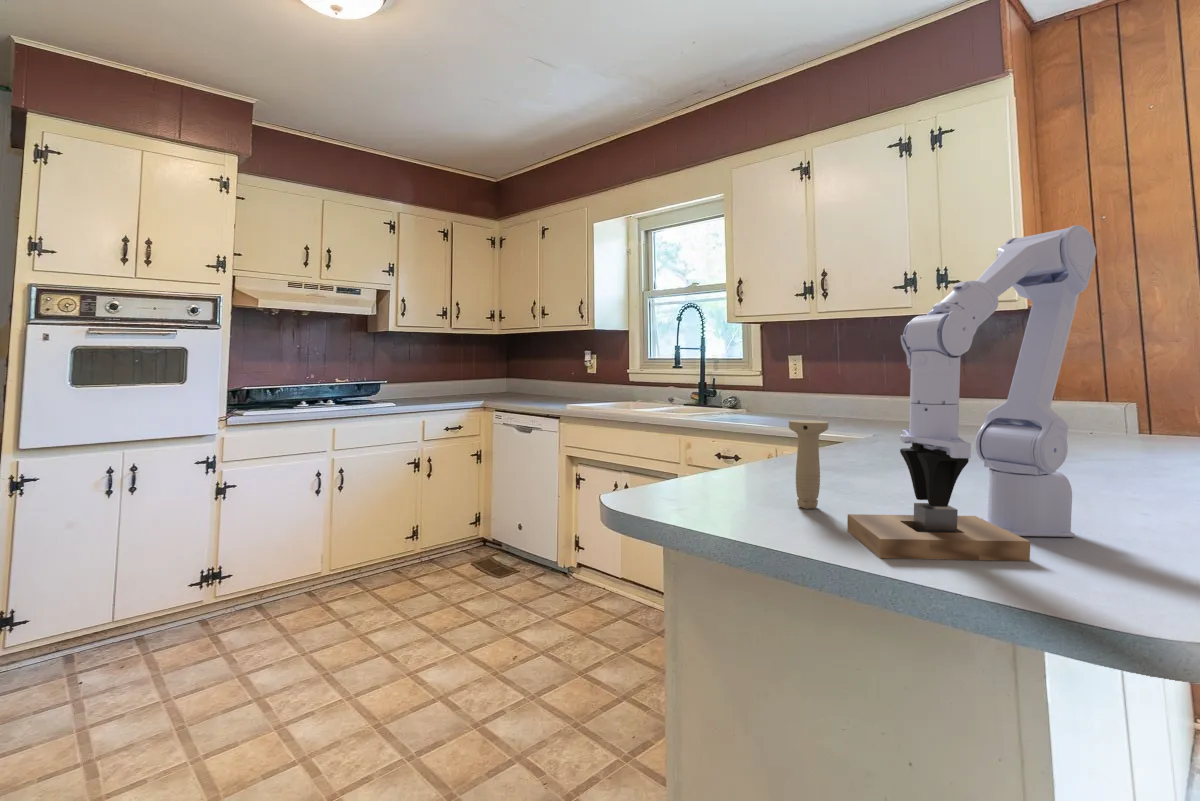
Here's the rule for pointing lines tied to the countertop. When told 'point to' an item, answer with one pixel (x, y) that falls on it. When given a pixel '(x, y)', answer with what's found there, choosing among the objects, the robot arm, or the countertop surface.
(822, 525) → the countertop surface
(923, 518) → the grey stone block
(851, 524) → the well board
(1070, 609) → the countertop surface
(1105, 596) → the countertop surface
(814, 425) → the handle
